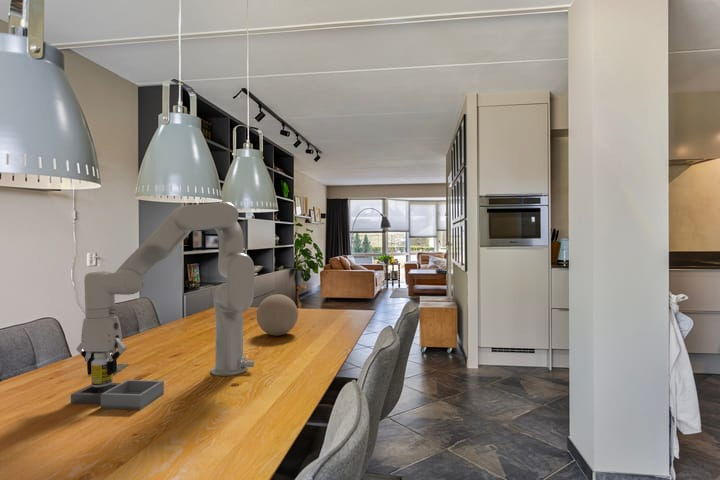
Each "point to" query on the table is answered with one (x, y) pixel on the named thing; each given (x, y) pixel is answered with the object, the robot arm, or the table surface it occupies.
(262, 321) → the decorative sphere
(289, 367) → the table surface
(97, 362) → the supplement bottle
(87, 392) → the socket collar
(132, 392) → the tray
